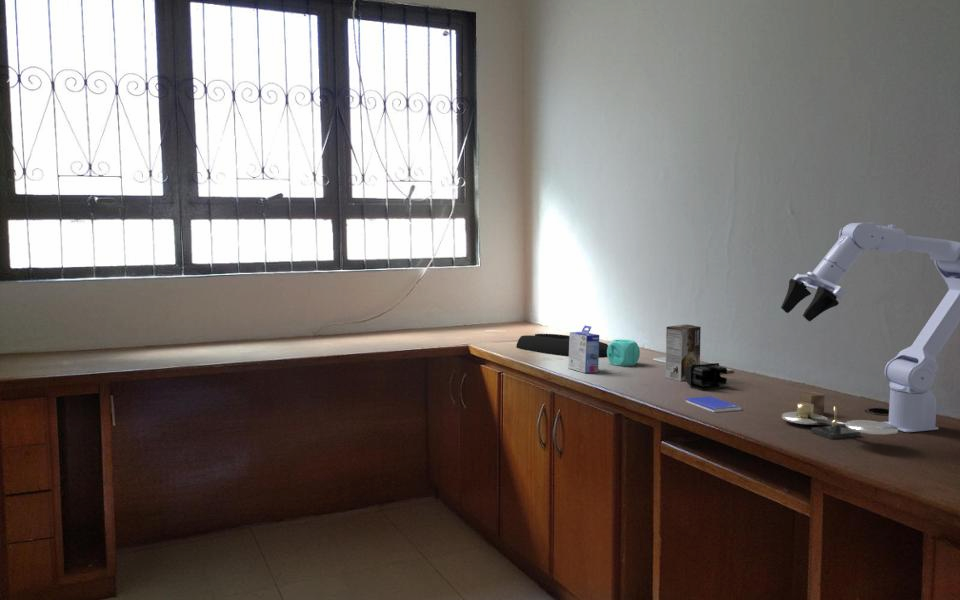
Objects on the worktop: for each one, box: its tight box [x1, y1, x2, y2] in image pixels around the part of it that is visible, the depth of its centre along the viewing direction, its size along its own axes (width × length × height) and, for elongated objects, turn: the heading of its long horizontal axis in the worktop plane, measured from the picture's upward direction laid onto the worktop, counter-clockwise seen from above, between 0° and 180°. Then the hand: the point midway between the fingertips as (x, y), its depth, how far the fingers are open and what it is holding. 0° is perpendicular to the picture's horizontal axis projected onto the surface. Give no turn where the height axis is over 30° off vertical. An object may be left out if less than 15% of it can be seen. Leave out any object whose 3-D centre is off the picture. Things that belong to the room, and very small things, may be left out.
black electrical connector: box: [685, 362, 728, 392], centre depth 221 cm, size 10×7×7 cm
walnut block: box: [799, 391, 826, 416], centre depth 190 cm, size 4×4×5 cm
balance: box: [781, 402, 899, 440], centre depth 170 cm, size 10×30×6 cm, turn 17°
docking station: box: [515, 333, 609, 358], centre depth 289 cm, size 25×40×5 cm, turn 42°
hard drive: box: [685, 396, 742, 413], centre depth 198 cm, size 2×8×12 cm
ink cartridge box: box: [568, 325, 600, 374], centre depth 246 cm, size 10×6×14 cm, turn 28°
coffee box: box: [664, 324, 702, 382], centre depth 234 cm, size 9×6×16 cm
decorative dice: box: [607, 338, 641, 367], centre depth 258 cm, size 8×8×8 cm
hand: (795, 314), depth 171 cm, fingers open, 7 cm apart
